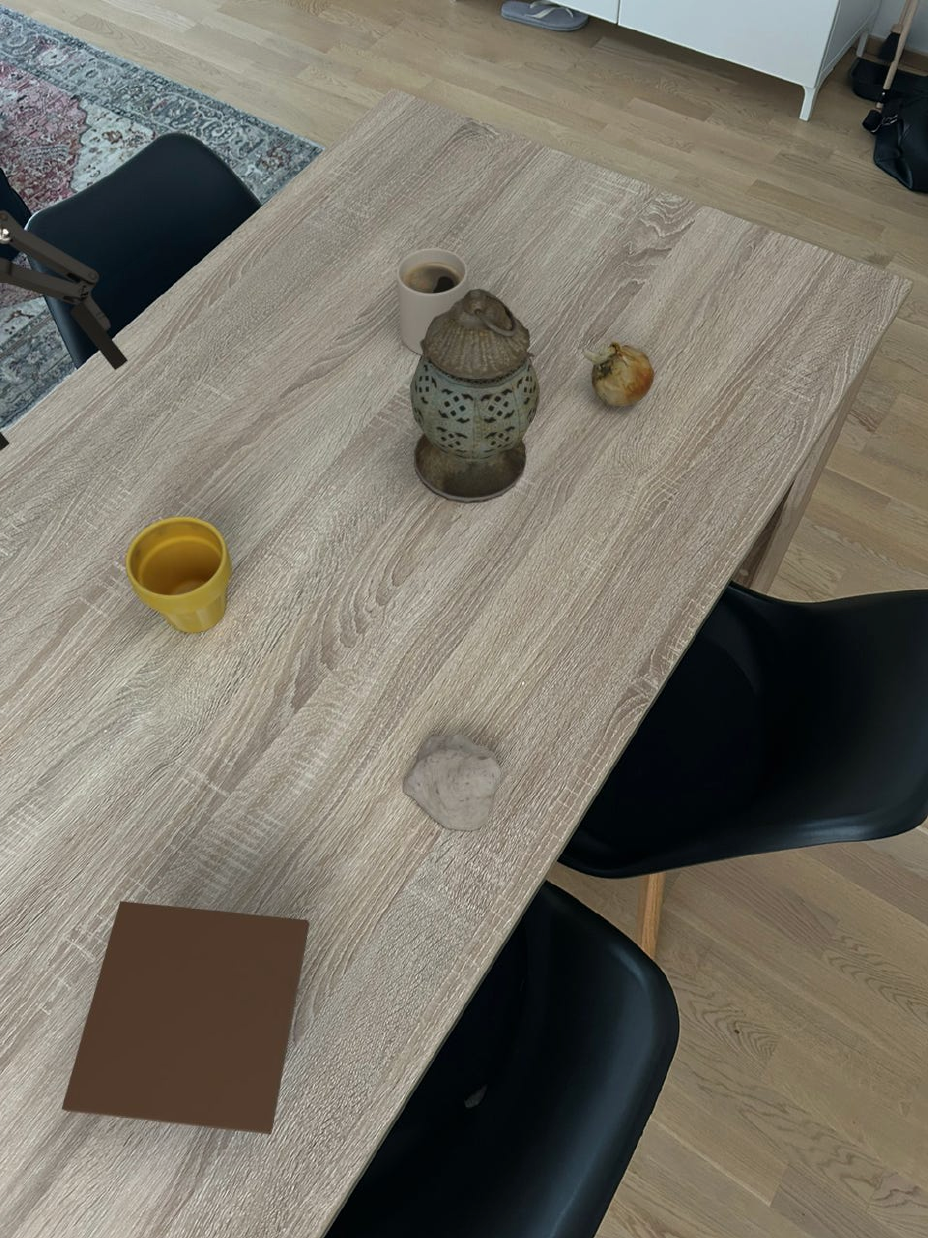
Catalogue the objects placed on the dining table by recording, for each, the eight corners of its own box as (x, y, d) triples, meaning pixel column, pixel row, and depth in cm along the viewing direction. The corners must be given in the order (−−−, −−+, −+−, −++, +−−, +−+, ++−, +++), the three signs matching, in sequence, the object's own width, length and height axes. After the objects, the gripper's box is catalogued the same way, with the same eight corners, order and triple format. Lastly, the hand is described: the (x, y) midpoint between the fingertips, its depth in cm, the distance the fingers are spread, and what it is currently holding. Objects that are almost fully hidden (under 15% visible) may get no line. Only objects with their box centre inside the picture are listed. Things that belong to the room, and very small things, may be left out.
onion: (613, 427, 127) (620, 379, 120) (574, 387, 131) (580, 339, 124) (662, 402, 129) (672, 354, 122) (623, 364, 133) (630, 315, 126)
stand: (98, 1124, 86) (61, 1109, 79) (149, 931, 95) (119, 901, 87) (287, 1146, 85) (268, 1133, 78) (321, 949, 94) (307, 919, 86)
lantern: (439, 403, 130) (432, 232, 108) (548, 433, 127) (563, 264, 106) (396, 485, 123) (379, 320, 101) (509, 518, 120) (517, 356, 99)
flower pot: (257, 578, 116) (240, 524, 107) (225, 656, 110) (205, 606, 102) (170, 561, 117) (147, 507, 109) (134, 638, 112) (107, 587, 103)
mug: (445, 366, 133) (443, 304, 124) (383, 339, 136) (377, 277, 127) (489, 316, 138) (489, 253, 129) (428, 291, 141) (425, 228, 132)
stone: (393, 731, 103) (492, 714, 101) (407, 751, 107) (502, 734, 105) (396, 825, 97) (500, 808, 96) (411, 843, 101) (511, 827, 99)
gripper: (-237, 261, 82) (-44, 480, 89) (24, 117, 92) (177, 325, 99) (-233, 286, 88) (-53, 488, 96) (10, 148, 98) (156, 341, 105)
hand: (64, 405), depth 97 cm, fingers open, 13 cm apart
